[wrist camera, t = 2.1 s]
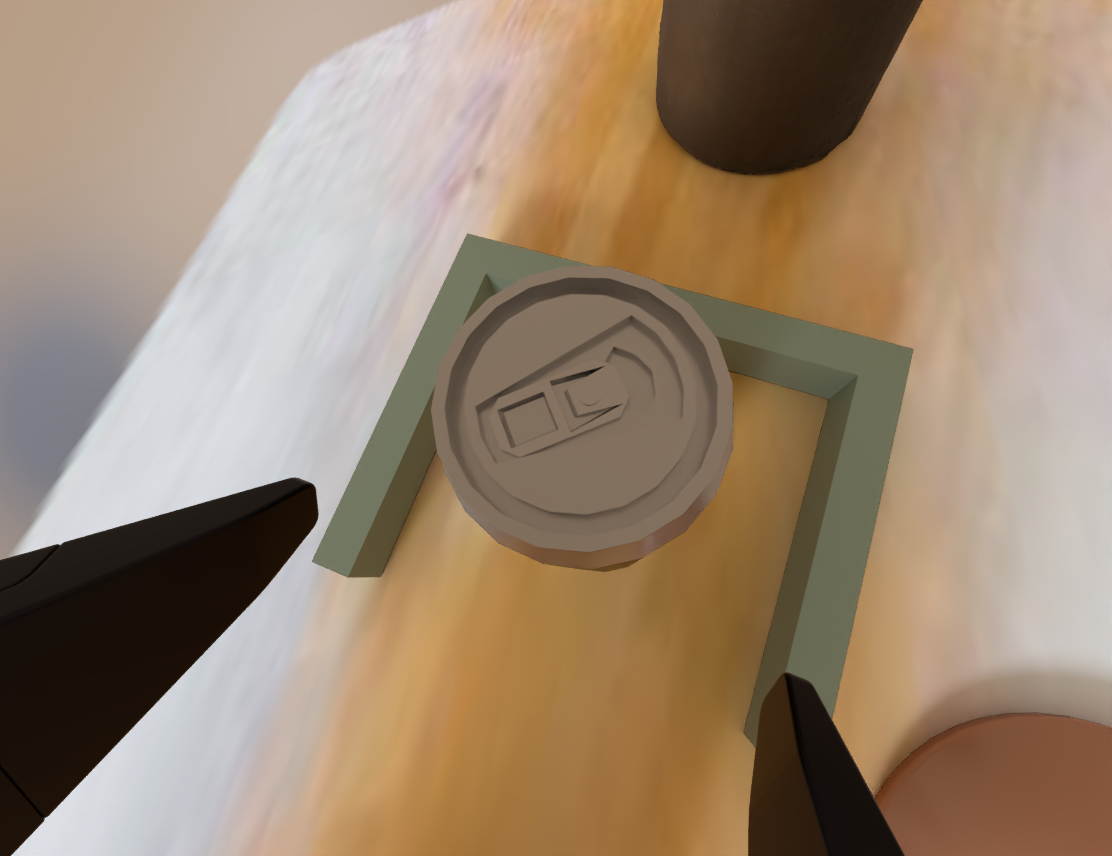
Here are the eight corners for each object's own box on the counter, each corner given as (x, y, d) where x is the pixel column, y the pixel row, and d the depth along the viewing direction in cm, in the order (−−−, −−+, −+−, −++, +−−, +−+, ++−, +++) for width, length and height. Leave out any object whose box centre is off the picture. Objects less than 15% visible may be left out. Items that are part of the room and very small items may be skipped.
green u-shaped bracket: (789, 752, 17) (818, 782, 14) (348, 563, 20) (311, 561, 18) (877, 376, 20) (913, 349, 17) (482, 268, 23) (467, 233, 21)
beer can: (560, 594, 19) (474, 624, 7) (513, 463, 20) (381, 322, 9) (694, 540, 19) (815, 486, 7) (636, 414, 20) (661, 209, 9)
